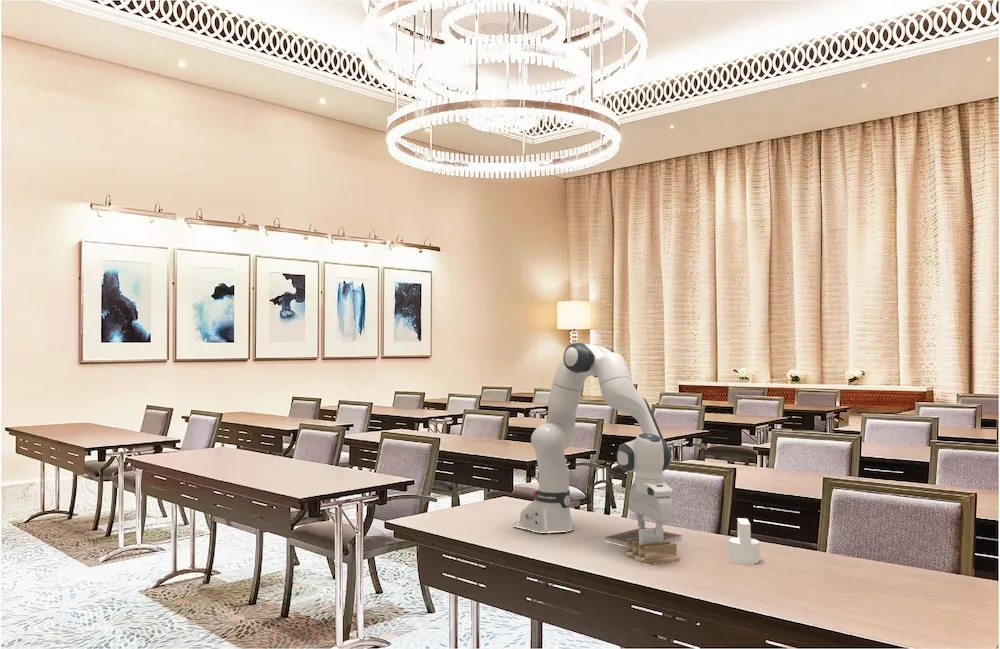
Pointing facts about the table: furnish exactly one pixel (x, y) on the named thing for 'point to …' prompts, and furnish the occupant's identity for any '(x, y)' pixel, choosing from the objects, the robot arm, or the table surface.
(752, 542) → the cylinder with rectangular tab
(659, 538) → the grey block
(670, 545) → the rack
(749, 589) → the table surface
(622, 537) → the picture frame
